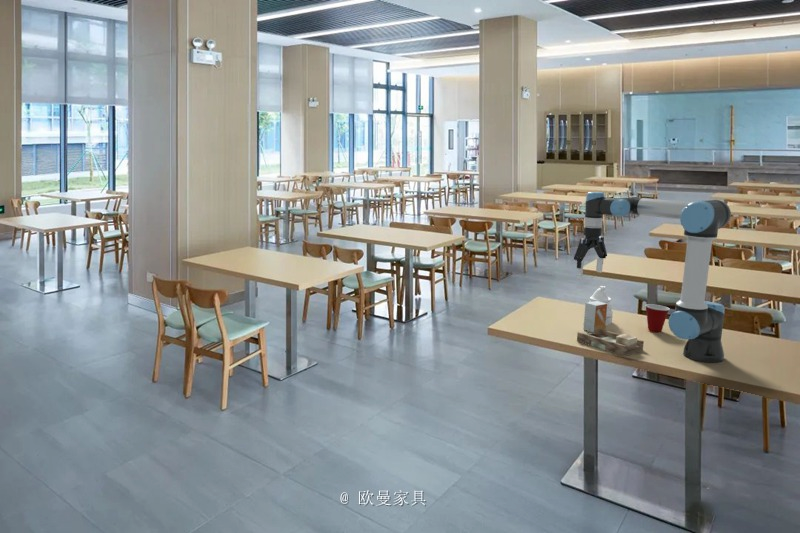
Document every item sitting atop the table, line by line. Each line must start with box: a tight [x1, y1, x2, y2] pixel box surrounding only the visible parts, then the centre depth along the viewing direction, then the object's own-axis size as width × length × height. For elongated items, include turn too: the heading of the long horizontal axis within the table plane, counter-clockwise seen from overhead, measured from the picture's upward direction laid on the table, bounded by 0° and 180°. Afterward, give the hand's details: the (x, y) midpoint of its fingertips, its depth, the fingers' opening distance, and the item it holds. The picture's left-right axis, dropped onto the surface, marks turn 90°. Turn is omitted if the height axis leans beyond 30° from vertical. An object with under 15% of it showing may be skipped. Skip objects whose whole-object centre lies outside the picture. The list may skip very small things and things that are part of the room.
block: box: [616, 333, 638, 349], centre depth 268 cm, size 6×6×4 cm
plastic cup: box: [644, 303, 671, 334], centre depth 297 cm, size 11×11×12 cm
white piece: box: [588, 285, 614, 326], centre depth 310 cm, size 13×13×18 cm
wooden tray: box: [576, 328, 645, 357], centre depth 275 cm, size 24×13×4 cm, turn 37°
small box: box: [583, 301, 607, 333], centre depth 296 cm, size 8×6×13 cm
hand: (589, 273), depth 287 cm, fingers open, 13 cm apart
